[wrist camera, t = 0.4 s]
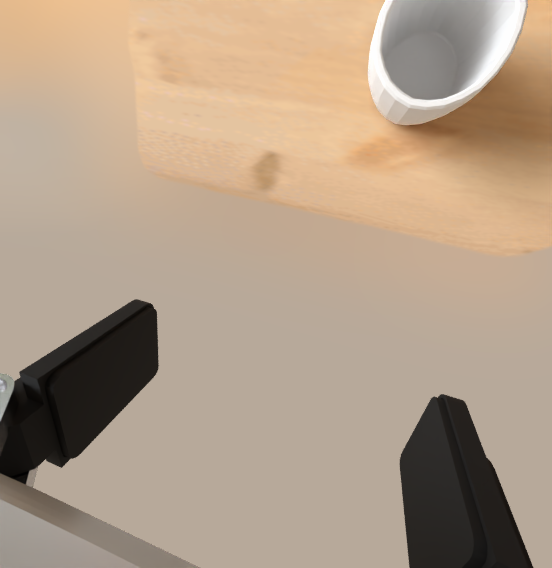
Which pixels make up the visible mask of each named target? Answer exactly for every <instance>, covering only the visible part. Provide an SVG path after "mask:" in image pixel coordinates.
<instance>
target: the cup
mask: <svg viewBox="0 0 552 568" xmlns="http://www.w3.org/2000/svg"><path fill="white" fill-rule="evenodd" d="M527 8H528V2H527V0H386V1H385V3H384V5H383V7H382V9H381V11H380V14H379V17H378V21H377V24H376V28H375V31H374V35H373V39H372V43H371V48H370V54H369V66H368V81H369V86H370V90H371V94H372V98H373V101H374V103H375V105H376V107H377V109H378V111H379V112H380V113H381V114H382V115H383V116H384V117H385V118H386V119H388V120H389V121H391V122H393V123H394V124H401V125H415V124H423V123H426V122H429V121H431V120H434V119H437V118H440V117H442V116H444V115H447V114H448V113H450V112H452V111H453V110H455V109H457V108H458V107H460V106H462V105H463V104H465V103H466V102H468V101H469V100H471V99H472V98H473V97H474V96H475V95H476V94H478V93H479V92H480V91H481V90H482V89H483V88H484V87H485V86H486V85H487V84H488V83H489V82H490V81H491V80H492V79H493V78H494V77H495V76H496V75H497V74H498V72H499V71H500V69H501V68H502V67H503V65H504V64H505V62H506V61H507V59H508V58H509V57H510V55H511V54H512V52H513V50H514V47H515V45H516V43H517V41H518V38H519V36H520V34H521V31H522V28H523V24H524V20H525V16H526V12H527Z"/></svg>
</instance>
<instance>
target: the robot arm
mask: <svg viewBox="0 0 552 568" xmlns="http://www.w3.org/2000/svg"><path fill="white" fill-rule="evenodd" d="M157 338H158V335H157V312H156V310H155V309H154V307H153V305H152V304H151V303H147V302H144V301H140V300H133V301H131V302H130V303H128V304H127V305H125V306H123V307H122V308H120V309H119V310H117V311H115V312H114V313H112V314H111V315H109V316H108V317H106V318H105V319H103V320H101V321H100V322H98V323H96V324H95V325H93V326H92V327H90V328H89V329H87V330H85V331H84V332H82V333H81V334H79V335H78V336H76V337H74V338H73V339H71V340H69V341H68V342H66V343H65V344H63V345H62V346H60V347H58V348H57V349H55V350H54V351H52V352H51V353H49V354H47V355H46V356H44V357H42V358H41V359H40V360H38V361H36V362H35V363H33V364H31V365H30V366H28V367H27V368H25V369H23V370H22V371H20V376H21V377H20V378H19V379H17V380H16V381H14V380H13V378H12V377H10V376H9V375H7V374H0V568H199V567H197V566H195V565H193V564H191V563H189V562H187V561H185V560H183V559H181V558H178V557H177V556H174V555H172V554H170V553H168V552H166V551H164V550H162V549H160V548H158V547H156V546H153V545H152V544H150V543H147V542H145V541H143V540H141V539H139V538H137V537H135V536H133V535H131V534H129V533H127V532H125V531H122V530H121V529H118V528H116V527H114V526H112V525H110V524H108V523H106V522H103V521H102V520H99V519H97V518H95V517H93V516H91V515H89V514H87V513H84V512H83V511H80V510H78V509H76V508H74V507H72V506H70V505H68V504H66V503H64V502H62V501H59V500H57V499H55V498H53V497H51V496H49V495H47V494H45V493H43V492H41V491H38V490H36V489H34V488H33V484H34V480H35V476H36V472H37V468H38V466H39V465H40V464H41V463H42V462H43V461H44V460H45V459H46V460H47V461H48V462H50V463H52V464H55V465H57V466H59V467H61V468H62V467H63V466H64V465H65V464H66V463H67V462H68V461H69V460H70V459H71V458H75V457H77V456H78V455H79V454H81V453H82V452H83V450H84V449H85V448H86V447H87V446H88V445H89V444H90V443H91V442H92V441H93V440H94V439H95V438H96V437H97V436H98V435H99V434H100V433H101V432H102V431H103V430H104V429H105V428H106V426H107V425H108V424H109V423H110V422H111V421H112V420H113V419H114V418H115V417H116V416H117V415H118V414H119V413H120V412H121V411H122V409H124V407H126V406H127V405H128V403H129V402H130V401H131V400H132V399H133V398H134V397H135V396H136V395H137V394H138V393H139V392H140V391H141V390H142V389H143V388H144V387H145V386H146V385H147V384H148V383H149V382H150V380H151V379H152V378H153V377H154V376H155V375H156V373H157V370H158V339H157ZM400 472H401V483H402V494H403V503H404V515H405V525H406V535H407V545H408V556H409V567H410V568H533V566H532V563H531V561H530V558H529V555H528V553H527V550H526V548H525V545H524V543H523V540H522V538H521V535H520V532H519V530H518V527H517V525H516V522H515V520H514V517H513V515H512V512H511V510H510V507H509V504H508V502H507V500H506V497H505V495H504V492H503V489H502V487H501V484H500V482H499V479H498V477H497V474H496V471H495V469H494V467H493V465H492V463H491V462H490V461H489V460H488V459H487V458H486V455H485V453H484V450H483V447H482V445H481V442H480V440H479V437H478V434H477V432H476V429H475V426H474V424H473V421H472V419H471V416H470V414H469V411H468V408H467V405H466V403H465V402H464V401H463V400H460V399H457V398H453V397H450V396H447V395H444V394H441V395H440V396H439V397H438V398H437V397H433V398H432V399H431V400H430V402H429V404H428V406H427V407H426V409H425V411H424V413H423V415H422V417H421V418H420V421H419V422H418V424H417V426H416V428H415V430H414V431H413V433H412V435H411V437H410V439H409V441H408V442H407V444H406V446H405V448H404V450H403V452H402V454H401V458H400Z"/></svg>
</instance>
